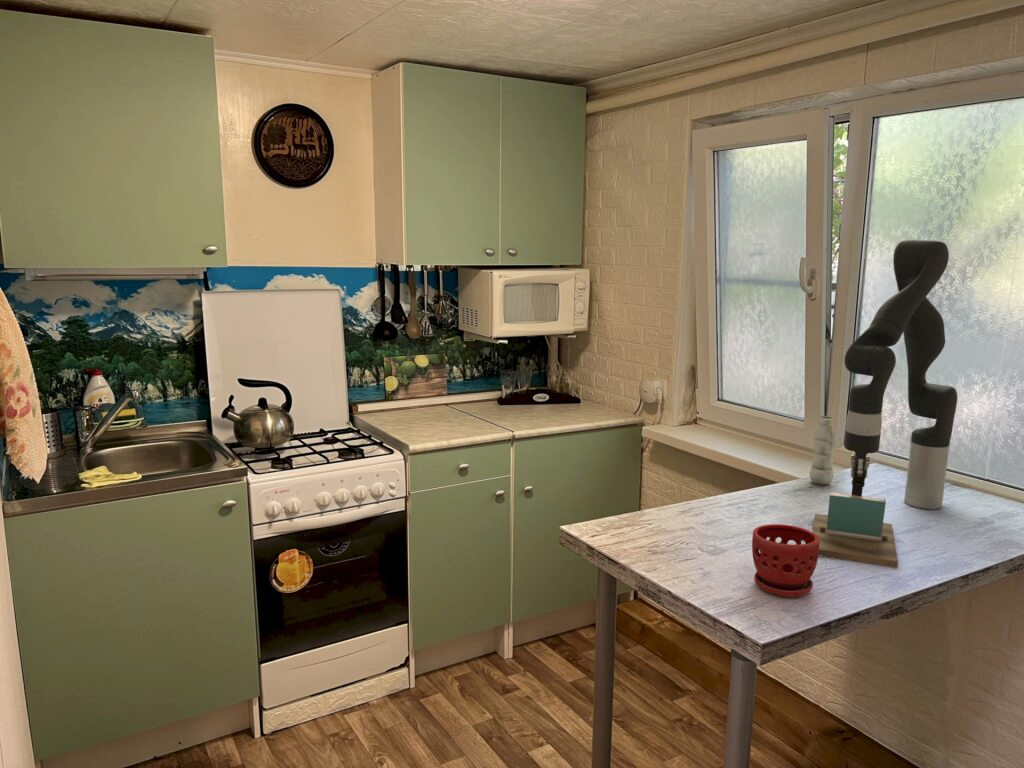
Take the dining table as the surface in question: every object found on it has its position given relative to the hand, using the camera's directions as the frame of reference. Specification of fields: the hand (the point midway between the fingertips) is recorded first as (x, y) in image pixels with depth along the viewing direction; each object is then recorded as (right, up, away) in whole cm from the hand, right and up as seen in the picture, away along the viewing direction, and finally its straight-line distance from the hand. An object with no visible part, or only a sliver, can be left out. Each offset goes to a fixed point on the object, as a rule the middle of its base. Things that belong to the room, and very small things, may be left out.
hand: (856, 500), depth 185 cm
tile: (0, -3, 0) cm, 3 cm away
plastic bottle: (+9, -2, +45) cm, 46 cm away
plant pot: (-25, -15, -21) cm, 36 cm away
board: (0, -10, +2) cm, 11 cm away
